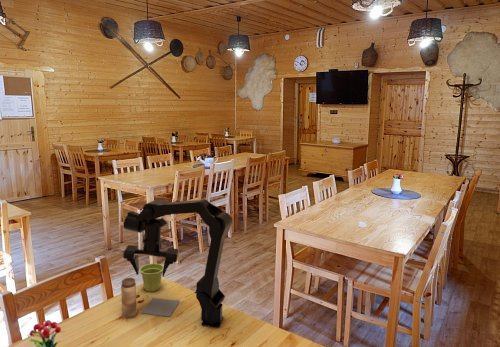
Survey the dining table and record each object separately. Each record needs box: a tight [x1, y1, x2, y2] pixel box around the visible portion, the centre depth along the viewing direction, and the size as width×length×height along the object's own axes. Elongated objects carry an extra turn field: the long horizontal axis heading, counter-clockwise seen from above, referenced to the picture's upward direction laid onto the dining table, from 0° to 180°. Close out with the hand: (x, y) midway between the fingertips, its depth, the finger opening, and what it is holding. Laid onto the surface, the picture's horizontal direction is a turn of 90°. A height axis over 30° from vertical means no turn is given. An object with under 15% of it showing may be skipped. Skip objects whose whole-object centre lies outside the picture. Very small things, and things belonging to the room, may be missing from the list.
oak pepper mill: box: [120, 277, 138, 319], centre depth 135 cm, size 5×5×13 cm
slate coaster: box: [140, 297, 181, 318], centre depth 142 cm, size 11×11×1 cm
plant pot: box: [139, 263, 164, 292], centre depth 155 cm, size 9×9×9 cm
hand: (150, 275), depth 139 cm, fingers open, 9 cm apart
